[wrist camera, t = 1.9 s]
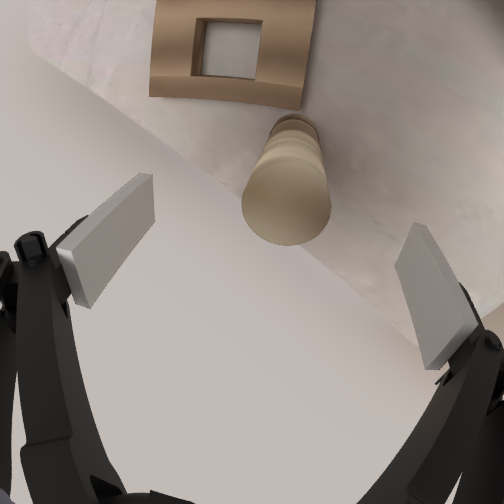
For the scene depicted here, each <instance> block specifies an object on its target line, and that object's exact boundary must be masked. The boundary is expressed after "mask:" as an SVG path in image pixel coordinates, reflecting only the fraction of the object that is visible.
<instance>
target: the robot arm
mask: <svg viewBox="0 0 504 504" xmlns="http://www.w3.org/2000/svg"><path fill="white" fill-rule="evenodd" d="M154 223H155V215H154V198H153V175H152V174H143V173H139V174H138V175H136V176H135V177H134V178H132V179H131V180H130V181H129V182H128V183H126V184H125V185H124V186H123V187H121V188H120V189H119V190H118V191H117V192H115V193H114V194H113V195H112V196H111V197H110V198H108V199H107V200H106V201H105V202H104V203H103V204H102V205H100V206H99V207H98V208H97V209H96V210H95V211H94V212H92V213H91V214H90V215H87V216H85V217H83V218H81V219H79V220H77V221H76V222H75V223H74V224H73V225H72V226H71V227H70V228H69V229H68V230H66V231H65V234H63V235H61V236H60V237H59V238H58V239H57V240H56V241H55V242H54V243H53V244H52V245H51V246H50V247H49V248H48V247H47V244H46V241H45V237H44V234H43V233H42V232H40V231H32V232H29V233H26V234H24V235H22V236H21V237H20V238H19V239H18V240H17V241H16V242H15V244H14V248H15V250H16V253H17V256H18V258H19V261H15V262H14V261H13V262H12V261H11V259H10V256H9V253H8V252H6V251H0V301H1V303H2V308H1V310H0V504H15V503H14V502H12V501H11V499H10V491H11V478H12V465H11V464H12V460H11V433H12V429H11V428H12V411H13V400H14V390H15V382H16V375H17V372H18V385H19V394H20V402H21V410H22V417H23V422H24V428H25V433H26V444H25V445H24V446H23V447H22V448H21V450H20V458H21V464H22V468H23V472H24V476H25V479H26V483H27V486H28V489H29V492H30V495H31V498H32V501H33V504H195V503H193V502H190V501H186V500H183V499H178V498H175V497H172V496H168V495H165V494H162V493H158V492H155V491H152V490H150V493H129V494H127V492H126V490H125V488H124V485H123V483H122V481H121V479H120V477H119V475H118V474H117V472H116V471H115V469H114V468H113V466H112V465H111V463H110V462H109V460H108V457H107V455H106V452H105V450H104V447H103V444H102V442H101V439H100V436H99V433H98V430H97V428H96V424H95V421H94V418H93V415H92V412H91V408H90V405H89V401H88V398H87V394H86V391H85V386H84V382H83V378H82V374H81V371H80V366H79V361H78V356H77V351H76V347H75V341H74V335H73V329H72V323H71V316H70V310H69V304H68V302H67V298H68V297H69V296H70V294H71V293H72V296H73V298H74V301H75V304H77V305H80V306H83V307H86V308H89V309H91V307H92V306H93V304H94V303H95V301H96V300H97V298H98V297H99V295H100V294H101V293H102V291H103V290H104V288H105V287H106V286H107V284H108V283H109V281H110V280H111V278H112V277H113V276H114V274H115V273H116V272H117V270H118V269H119V268H120V266H121V265H122V263H123V262H124V261H125V259H126V258H127V257H128V255H129V254H130V253H131V251H132V250H133V249H134V248H135V246H136V245H137V244H138V243H139V241H140V240H141V239H142V237H143V236H144V235H145V234H146V232H147V231H148V230H149V229H150V227H151V226H152V225H153V224H154ZM395 269H396V271H397V274H398V277H399V280H400V283H401V286H402V289H403V292H404V295H405V298H406V301H407V304H408V308H409V311H410V314H411V318H412V321H413V324H414V328H415V332H416V335H417V339H418V343H419V347H420V350H421V354H422V359H423V363H424V367H425V370H440V368H442V367H443V365H444V364H445V363H446V362H447V361H448V363H449V366H450V368H449V369H448V371H447V372H446V373H445V374H444V375H443V376H442V377H441V378H440V379H439V380H438V381H437V382H436V383H435V384H436V385H437V384H438V383H439V382H440V384H439V386H438V388H437V390H436V392H435V394H434V396H433V397H432V400H431V401H430V403H429V405H428V406H427V408H426V410H425V412H424V413H423V415H422V417H421V418H420V420H419V422H418V423H417V425H416V426H415V428H414V430H413V431H412V433H411V434H410V436H409V437H408V439H407V440H406V442H405V443H404V445H403V446H402V448H401V449H400V451H399V452H398V453H397V455H396V456H395V458H394V459H393V460H392V462H391V463H390V464H389V466H388V467H387V468H386V470H385V471H384V472H383V474H382V475H381V476H380V477H379V479H378V480H377V481H376V482H375V483H374V485H373V486H372V487H371V488H370V489H369V491H368V492H367V493H366V494H365V495H364V496H363V497H362V499H361V500H360V501H359V502H358V503H357V504H445V502H446V500H447V499H448V497H449V495H450V493H451V492H452V490H453V488H454V486H455V484H456V483H457V481H458V479H459V477H460V475H461V473H462V475H461V478H460V482H459V485H458V488H457V491H456V494H455V497H454V500H453V503H452V504H504V400H502V397H503V395H504V349H503V346H502V343H501V341H500V339H499V338H498V336H497V335H496V334H495V333H493V332H491V331H490V330H485V329H484V326H483V324H482V322H481V319H480V317H479V315H478V313H477V311H476V309H475V308H474V304H473V302H472V301H471V298H470V296H469V294H468V292H467V290H466V289H465V288H464V287H463V286H462V285H461V283H459V282H458V281H457V279H456V277H455V275H454V273H453V271H452V269H451V267H450V266H449V264H448V262H447V260H446V258H445V257H444V255H443V253H442V251H441V250H440V248H439V246H438V245H437V243H436V241H435V240H434V238H433V236H432V235H431V233H430V232H429V230H428V228H427V227H426V226H425V225H421V224H418V223H413V225H412V228H411V230H410V232H409V235H408V237H407V239H406V242H405V244H404V246H403V248H402V251H401V253H400V255H399V257H398V259H397V261H396V264H395Z"/></svg>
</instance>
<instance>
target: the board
mask: <svg viewBox="0 0 504 504" xmlns="http://www.w3.org/2000/svg"><path fill="white" fill-rule="evenodd" d="M315 7H316V0H157V2H156V10H155V18H154V28H153V38H152V50H151V64H150V84H149V97H177V98H198V99H213V100H225V101H235V102H244V103H252V104H260V105H267V106H273V107H280V108H286V109H292V110H297V111H299V109H300V103H301V97H302V91H303V85H304V79H305V73H306V66H307V60H308V54H309V47H310V41H311V34H312V27H313V20H314V14H315ZM206 22H235V23H251V24H262V31H261V38H260V45H259V53H258V61H257V68H256V76H255V79H249V78H239V77H227V76H212V75H201V69H202V58H203V48H204V39H205V30H206Z"/></svg>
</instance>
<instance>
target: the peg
mask: <svg viewBox="0 0 504 504" xmlns="http://www.w3.org/2000/svg"><path fill="white" fill-rule="evenodd" d="M242 212H243V215H244V218H245V221H246V222H247V224H248V226H249V227H250V228H251V229H252V231H253V232H254V233H256V234H257V235H258V236H260V237H261V238H263V239H264V240H266V241H268V242H271V243H274V244H278V245H287V246H291V245H298V244H302V243H305V242H308V241H310V240H311V239H313V238H315V237H316V236H317V235H319V234H320V233H321V231H322V230H323V229H324V228H325V226H326V224H327V223H328V220H329V217H330V213H331V201H330V196H329V190H328V185H327V179H326V174H325V169H324V164H323V159H322V154H321V150H320V145H319V138H318V135H317V132H316V128H315V126H314V125H313V123H312V122H311V121H310V120H309V119H308V118H306V117H304V116H302V115H299V114H289V115H286V116H283V117H282V118H280V119H279V120H278V121H277V122H276V124H275V125H274V127H273V129H272V130H271V132H270V135H269V138H268V140H267V142H266V144H265V146H264V149H263V151H262V153H261V155H260V157H259V159H258V162H257V164H256V166H255V168H254V170H253V173H252V175H251V177H250V179H249V181H248V184H247V186H246V188H245V190H244V193H243V197H242Z"/></svg>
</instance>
